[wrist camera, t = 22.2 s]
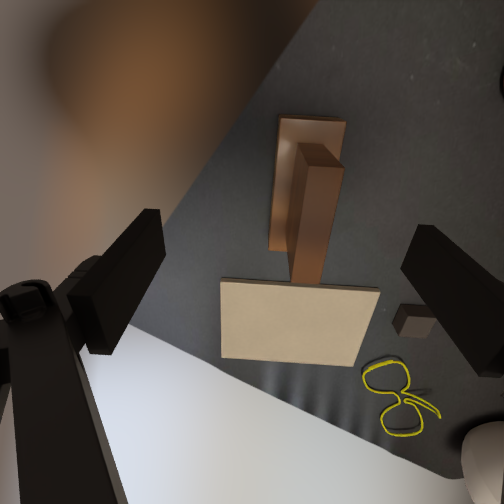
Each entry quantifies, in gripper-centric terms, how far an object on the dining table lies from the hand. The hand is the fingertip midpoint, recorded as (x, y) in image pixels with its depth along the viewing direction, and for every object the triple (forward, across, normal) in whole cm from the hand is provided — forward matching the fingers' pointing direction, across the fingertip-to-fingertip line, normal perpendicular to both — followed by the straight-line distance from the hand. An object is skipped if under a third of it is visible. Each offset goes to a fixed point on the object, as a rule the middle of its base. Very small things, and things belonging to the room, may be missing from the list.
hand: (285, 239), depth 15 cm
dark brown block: (+18, +22, -21) cm, 36 cm away
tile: (+18, +5, -25) cm, 31 cm away
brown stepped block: (+18, +3, -3) cm, 19 cm away
